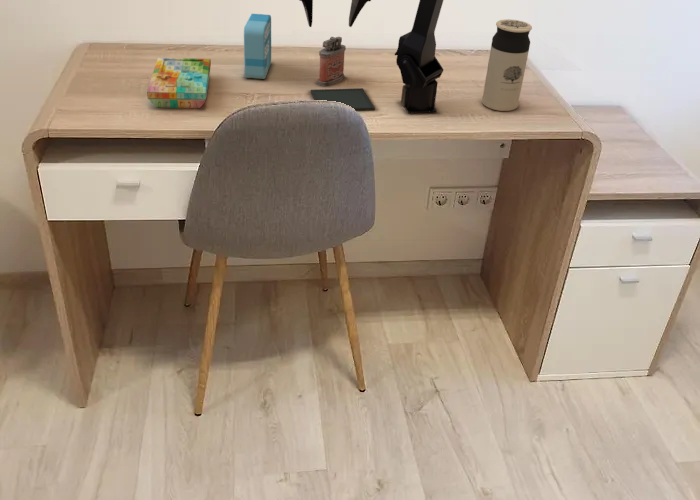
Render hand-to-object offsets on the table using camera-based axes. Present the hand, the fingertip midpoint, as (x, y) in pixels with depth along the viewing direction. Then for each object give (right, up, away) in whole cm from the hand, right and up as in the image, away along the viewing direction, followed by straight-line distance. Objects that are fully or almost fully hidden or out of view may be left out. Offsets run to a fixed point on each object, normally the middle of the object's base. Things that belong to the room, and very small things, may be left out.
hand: (330, 26), depth 165 cm
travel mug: (+38, -17, +1) cm, 42 cm away
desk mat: (+3, -17, -2) cm, 17 cm away
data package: (-17, -8, +10) cm, 21 cm away
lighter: (0, -11, +7) cm, 13 cm away
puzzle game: (-32, -15, -3) cm, 36 cm away
